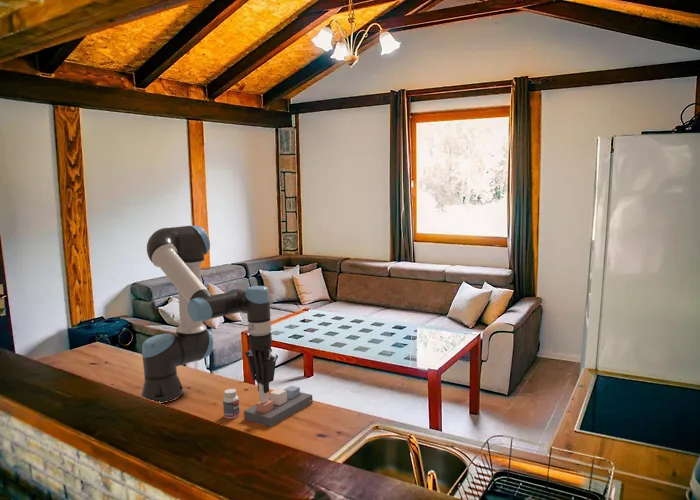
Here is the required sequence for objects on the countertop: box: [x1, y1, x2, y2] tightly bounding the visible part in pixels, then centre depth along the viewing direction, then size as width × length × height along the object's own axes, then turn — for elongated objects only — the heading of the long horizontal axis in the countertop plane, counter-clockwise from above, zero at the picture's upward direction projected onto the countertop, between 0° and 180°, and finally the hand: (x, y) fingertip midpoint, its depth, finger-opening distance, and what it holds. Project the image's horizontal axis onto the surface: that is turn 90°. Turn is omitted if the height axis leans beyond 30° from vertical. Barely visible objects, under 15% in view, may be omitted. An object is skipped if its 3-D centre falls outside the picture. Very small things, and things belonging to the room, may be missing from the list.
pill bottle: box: [222, 388, 240, 420], centre depth 180 cm, size 5×5×9 cm
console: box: [243, 391, 314, 428], centre depth 182 cm, size 12×22×3 cm, turn 146°
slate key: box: [283, 385, 301, 399], centre depth 188 cm, size 4×4×4 cm
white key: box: [269, 388, 287, 406], centre depth 182 cm, size 4×4×4 cm
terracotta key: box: [255, 400, 274, 414], centre depth 176 cm, size 4×4×4 cm
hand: (264, 401), depth 176 cm, fingers closed
